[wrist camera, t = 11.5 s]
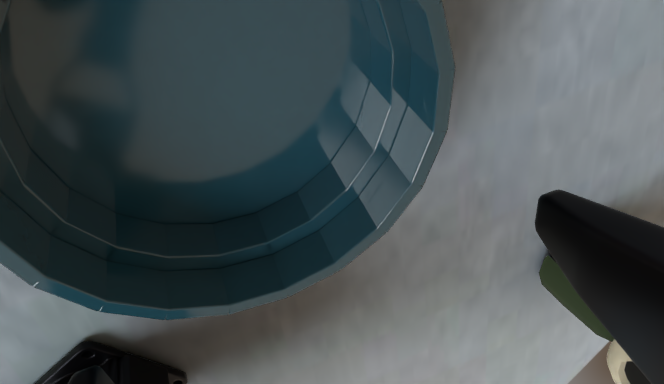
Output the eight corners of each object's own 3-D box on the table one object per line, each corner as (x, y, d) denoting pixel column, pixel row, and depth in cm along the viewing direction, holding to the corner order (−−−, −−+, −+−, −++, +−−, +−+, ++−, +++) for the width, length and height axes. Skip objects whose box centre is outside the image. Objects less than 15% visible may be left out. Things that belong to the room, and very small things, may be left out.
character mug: (598, 172, 30) (825, 358, 21) (661, 193, 34) (879, 360, 25) (491, 301, 35) (636, 500, 26) (556, 308, 39) (705, 483, 29)
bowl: (212, 285, 26) (229, 362, 22) (-160, 99, 16) (-230, 189, 12) (458, 72, 23) (519, 125, 19) (192, -323, 13) (225, -353, 9)
